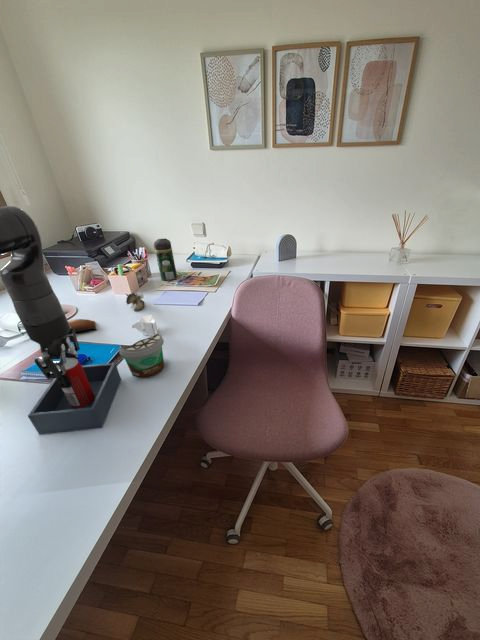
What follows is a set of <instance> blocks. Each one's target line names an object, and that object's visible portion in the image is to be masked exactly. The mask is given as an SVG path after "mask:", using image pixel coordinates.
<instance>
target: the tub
mask: <svg viewBox="0 0 480 640" xmlns="http://www.w3.org/2000/svg"><path fill="white" fill-rule="evenodd" d="M82 368H83V370H84V372H85V374H86V377H87V379H88V381H89V384H90V386H91V388H92V391H93V393H94V395H95V398H94V400H93V402H92V403H91V404H90V405H88V406H86V407H83V408H74V407H72V406H71V405H70V403H69V401H68V399H67V397H66V395H65V393H64V391H63V389H62V388H61V387H60V385H59V383H58V381H57V379H56V378H53V379H52V380H51V382H50V384H49V385H48V386H47V388H46V389H45V391H44V392H43V394H42V395H41V396H40V398H39V399H38V401H37V402H36V404H35V405H34V406H33V408H32V409H31V410H30V411H29V413H28V414H27V418H28V419H29V421H30V422H31V424H32V426H33V427H34V429H35V430H36V432H37V434H38V435H45V434H55V433H64V432H72V431H73V432H75V431H82V430H91V429H100V428H103V426H104V423H105V421H106V419H107V416H108V413H109V411H110V409H111V406H112V404H113V402H114V399H115V397H116V394H117V391H118V389H119V387H120V384H121V381H122V377H121V374H120V372H119V369H118V365H117V363H116V362H110V363H99V364H87V365H82Z"/></svg>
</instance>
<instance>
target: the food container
mask: <svg viewBox="0 0 480 640" xmlns="http://www.w3.org/2000/svg"><path fill="white" fill-rule="evenodd" d="M163 345H164V337H163V335H162V334H161V333H160V332H159V330H158V331H157V334H156V335H154V336H150V337H147V338H144V339H140V340H138V341H136V342H135V343H133V344H130V345H129V346H126V347H124V348H123V347H121V346H119V350H118V353H119V355H120V356H121V357H123V358H124V360H125V363H126V365H127V367H128V368H129V371H130V373H131V375H132V376H133V377H134V378H138V379H147V378H152V377H155V376H157V375H158V374H160V373H161V372H162V371H163V370H164V369H165V360H164V352H163V351H164V350H163Z"/></svg>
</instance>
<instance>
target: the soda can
mask: <svg viewBox="0 0 480 640" xmlns="http://www.w3.org/2000/svg"><path fill="white" fill-rule="evenodd" d="M82 366H83V365H82V364H81V362H80V361H79V359H78V360H77V359H75V358H66V364H65V370H66V373H67V374H68V376H69V379H70V381H71V383H72V386H71V387H70V388H62V389H63V391H64V393H65V395H66V397H67V399H68V401H69V403H70V405H71V406H72V407H74V408H83V407H86V406H88V405H90V404H91V403H92V402H93V400H94V398H95V395H94V393H93V391H92V388H91V386H90V384H89V381H88V379H87V377H86V374H85V372H84V370H83V368H82ZM56 367H57V368H58V370H60V367H59V366H58V365H57V366H56Z"/></svg>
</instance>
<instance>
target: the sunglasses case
mask: <svg viewBox="0 0 480 640" xmlns="http://www.w3.org/2000/svg"><path fill="white" fill-rule="evenodd" d="M67 321H68V323H69V326H70V327H73V328H74V331H75V333H79V332H83V331H88V330H97V324H96V323H97V322H96V321H95V320H91V319H86V318H84V319H83V318H77V319H71V320H67Z"/></svg>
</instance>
